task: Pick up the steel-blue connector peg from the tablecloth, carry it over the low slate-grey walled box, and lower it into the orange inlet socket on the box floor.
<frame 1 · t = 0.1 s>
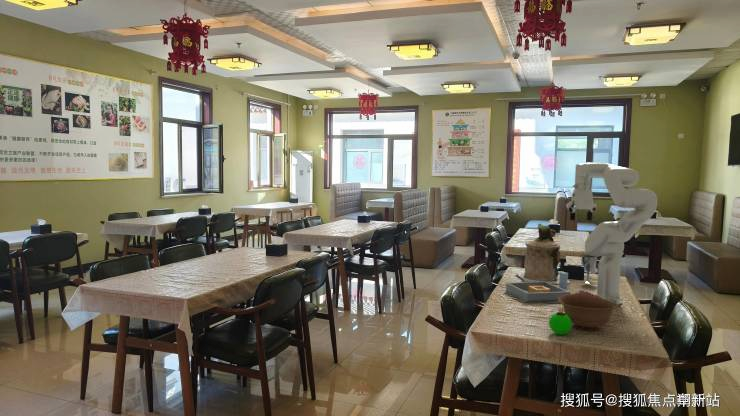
hand: (580, 220, 258), 37 cm above the table, tool pointing down, fingers open, 9 cm apart
bowl: (585, 328, 197), on the table
flower: (586, 313, 218), on the table
wine glass: (587, 282, 279), on the table
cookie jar: (541, 279, 286), on the table
connector: (562, 292, 255), on the table
walled box: (536, 296, 246), on the table
ornament: (559, 334, 188), on the table
inlet: (539, 294, 250), resting on walled box
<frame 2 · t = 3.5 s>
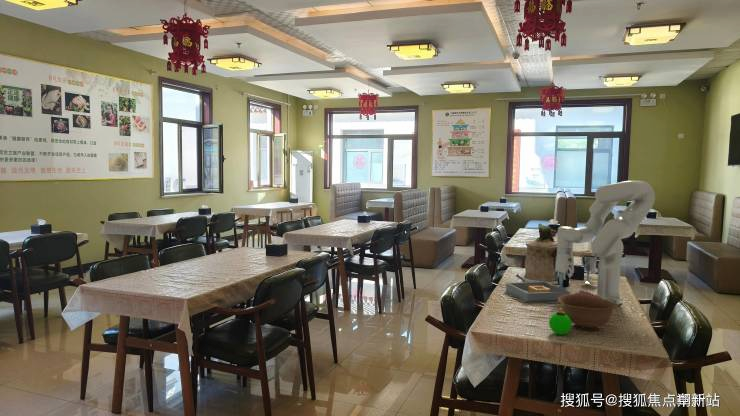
hand: (563, 285, 255), 3 cm above the table, tool pointing down, fingers closed on connector, 4 cm apart
connector: (562, 292, 255), on the table, touching gripper
everything else where it was.
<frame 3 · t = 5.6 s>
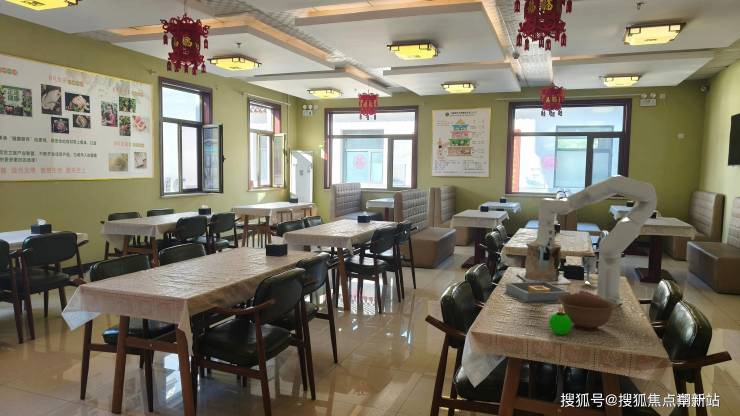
hand: (543, 259, 250), 18 cm above the table, tool pointing down, fingers closed on connector, 4 cm apart
connector: (543, 265, 250), point 14 cm above the table, touching gripper
everything else where it was.
when the fingers open (5 cm above the table, at t = 7.7 s): connector stays where it is, resting on walled box.
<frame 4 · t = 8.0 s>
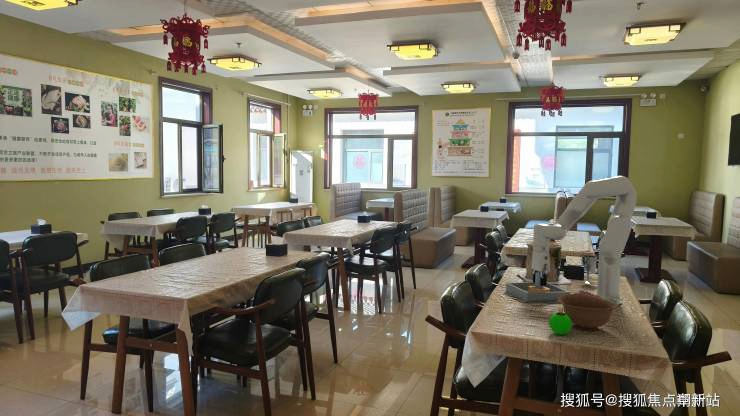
hand: (539, 283, 249), 5 cm above the table, tool pointing down, fingers open, 6 cm apart
connector: (539, 292, 250), point 1 cm above the table, touching walled box
everything else where it was.
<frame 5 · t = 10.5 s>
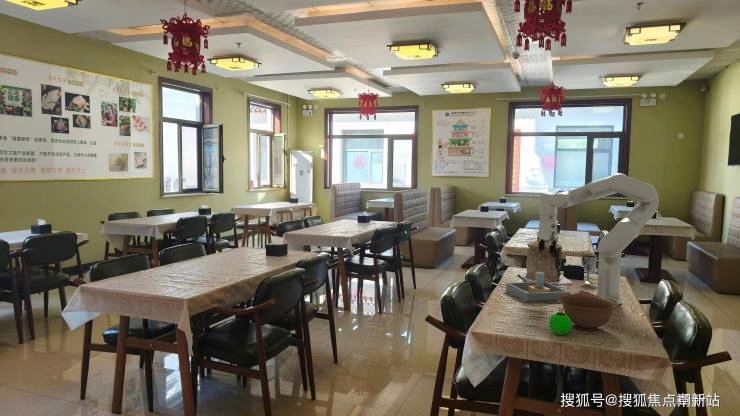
hand: (547, 251, 250), 22 cm above the table, tool pointing down, fingers open, 9 cm apart
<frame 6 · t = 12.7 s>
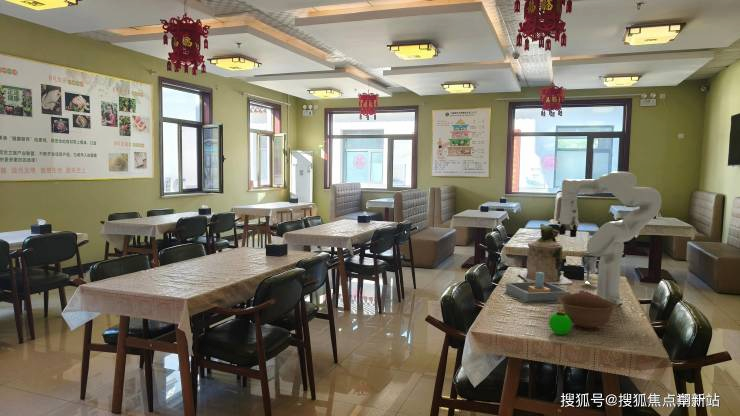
hand: (567, 235, 260), 28 cm above the table, tool pointing down, fingers open, 9 cm apart
at the end: connector 0.0 cm off-centre on the inlet, point 1.0 cm above the inlet's base; connector tilted 0°; the gripper is holding nothing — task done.
